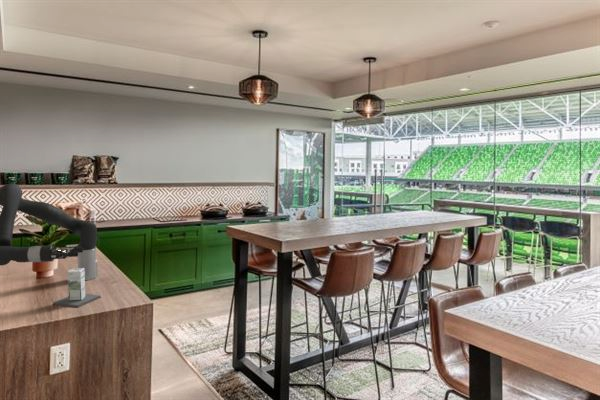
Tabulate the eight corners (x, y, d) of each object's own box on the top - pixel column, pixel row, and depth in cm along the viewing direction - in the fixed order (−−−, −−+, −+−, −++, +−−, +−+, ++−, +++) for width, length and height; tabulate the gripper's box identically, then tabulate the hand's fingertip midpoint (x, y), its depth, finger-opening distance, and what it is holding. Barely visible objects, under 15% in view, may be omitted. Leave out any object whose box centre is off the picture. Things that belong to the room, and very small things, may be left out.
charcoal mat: (77, 294, 193) (77, 292, 193) (100, 297, 190) (100, 295, 190) (53, 304, 180) (53, 302, 180) (78, 307, 177) (78, 305, 176)
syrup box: (85, 296, 188) (84, 267, 187) (81, 300, 183) (80, 270, 181) (73, 297, 187) (71, 267, 186) (68, 301, 181) (67, 271, 180)
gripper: (35, 249, 172) (76, 247, 176) (46, 242, 185) (84, 241, 190) (36, 265, 173) (76, 263, 177) (47, 258, 186) (84, 256, 191)
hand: (80, 251), depth 184 cm, fingers open, 8 cm apart
